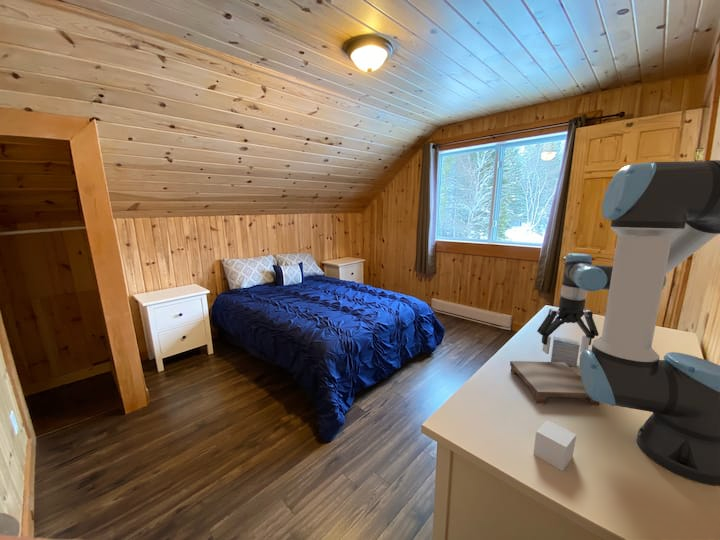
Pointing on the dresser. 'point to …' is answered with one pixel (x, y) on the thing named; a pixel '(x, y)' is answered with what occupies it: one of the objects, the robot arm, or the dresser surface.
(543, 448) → the white cube
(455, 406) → the dresser surface
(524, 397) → the dresser surface
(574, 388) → the walnut stand
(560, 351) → the medicine box
